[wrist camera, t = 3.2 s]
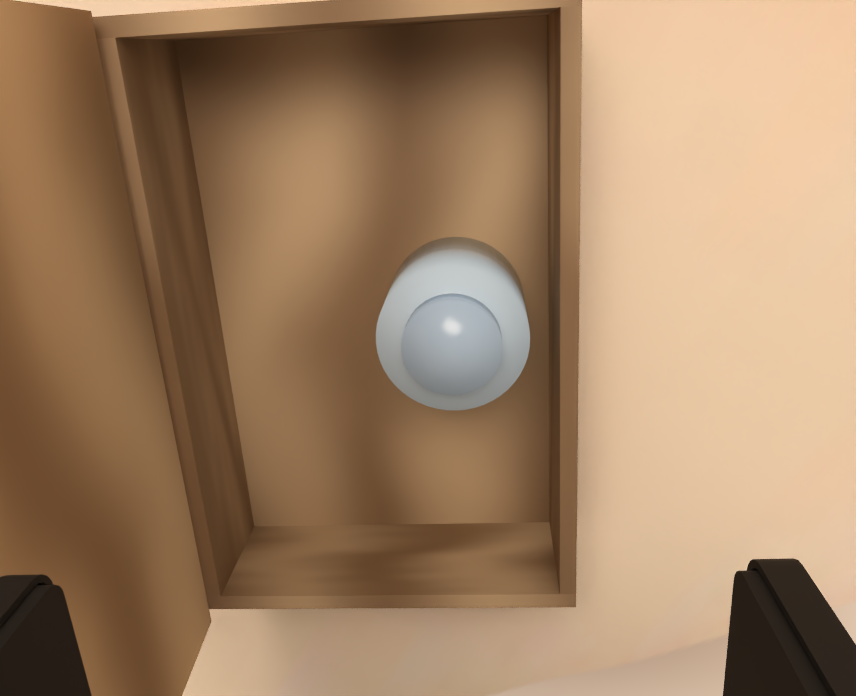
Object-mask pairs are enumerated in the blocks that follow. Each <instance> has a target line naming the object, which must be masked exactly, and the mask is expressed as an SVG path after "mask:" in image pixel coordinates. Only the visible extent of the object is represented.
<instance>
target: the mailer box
mask: <svg viewBox="0 0 856 696" xmlns="http://www.w3.org/2000/svg"><path fill="white" fill-rule="evenodd" d="M92 19H93V24H94V29H95V34H96V39H97V44H98V49H99V54H100V59H101V65H102V70H103V75H104V80H105V85H106V90H107V95H108V100H109V105H110V110H111V115H112V120H113V125H114V130H115V136H116V141H117V146H118V151H119V156H120V161H121V166H122V171H123V176H124V181H125V186H126V191H127V196H128V202H129V207H130V212H131V217H132V222H133V227H134V232H135V237H136V242H137V247H138V252H139V257H140V262H141V267H142V273H143V278H144V283H145V288H146V293H147V298H148V303H149V308H150V313H151V318H152V323H153V328H154V333H155V339H156V344H157V349H158V354H159V359H160V364H161V369H162V374H163V379H164V384H165V389H166V394H167V399H168V404H169V410H170V415H171V420H172V425H173V430H174V435H175V440H176V445H177V450H178V455H179V460H180V465H181V470H182V476H183V481H184V486H185V491H186V496H187V501H188V506H189V511H190V516H191V521H192V526H193V531H194V536H195V541H196V547H197V552H198V557H199V562H200V567H201V572H202V577H203V582H204V587H205V592H206V597H207V602H208V607H209V609H287V608H489V607H576V537H577V440H578V343H579V246H580V148H581V51H582V0H328V1H314V2H300V3H285V4H271V5H257V6H243V7H229V8H215V9H201V10H187V11H172V12H158V13H144V14H130V15H116V16H102V17H92ZM446 237H466V238H472V239H475V240H479V241H481V242H484V243H486V244H488V245H490V246H492V247H493V248H495V249H496V250H498V251H499V252H500V253H501V254H503V255H504V256H505V257H506V258H507V259H508V261H509V262H510V263H511V265H512V266H513V267H514V269H515V271H516V273H517V274H518V277H519V279H520V282H521V285H522V290H523V295H524V300H525V306H526V312H527V318H528V323H529V329H530V348H529V353H528V358H527V361H526V363H525V366H524V368H523V370H522V372H521V374H520V375H519V377H518V378H517V380H516V381H515V382H514V384H513V385H512V386H511V387H510V388H509V389H508V390H507V391H506V392H504V393H503V394H502V395H501V396H499V397H498V398H496V399H495V400H493V401H491V402H489V403H487V404H485V405H482V406H479V407H476V408H471V409H467V410H442V409H436V408H432V407H429V406H426V405H423V404H421V403H418V402H417V401H415V400H413V399H411V398H410V397H408V396H407V395H406V394H404V393H403V392H402V391H401V390H399V389H398V388H397V387H396V386H395V385H394V383H393V382H392V381H391V380H390V379H389V377H388V376H387V374H386V372H385V371H384V369H383V367H382V364H381V362H380V359H379V356H378V353H377V347H376V328H377V322H378V318H379V315H380V312H381V310H382V307H383V305H384V302H385V299H386V297H387V294H388V292H389V289H390V287H391V284H392V282H393V279H394V277H395V274H396V272H397V271H398V269H399V267H400V265H401V264H402V263H403V262H404V260H405V259H406V258H407V257H408V256H409V255H410V254H411V253H412V252H414V251H415V250H416V249H418V248H419V247H421V246H423V245H425V244H426V243H429V242H431V241H434V240H437V239H441V238H446Z"/></svg>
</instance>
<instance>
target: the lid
mask: <svg viewBox="0 0 856 696" xmlns="http://www.w3.org/2000/svg"><path fill="white" fill-rule="evenodd" d="M39 574H43V575H46V576H48V577H49V578H50V579H51V580H52V582H53V585H59V586H60V587H61V588H62V590H63V592H64V595H65V598H66V602H67V606H68V610H69V613H70V617H71V621H72V624H73V628H74V632H75V635H76V639H77V643H78V647H79V650H80V654H81V658H82V661H83V665H84V669H85V672H86V676H87V680H88V684H89V687H90V691H91V695H92V696H182V694H183V691H184V689H185V686H186V684H187V681H188V679H189V676H190V674H191V671H192V669H193V666H194V664H195V661H196V659H197V656H198V654H199V651H200V648H201V646H202V643H203V641H204V638H205V636H206V633H207V631H208V628H209V626H210V623H211V618H210V613H209V607H208V602H207V597H206V592H205V587H204V582H203V577H202V572H201V567H200V562H199V557H198V552H197V547H196V541H195V536H194V531H193V526H192V521H191V516H190V511H189V506H188V501H187V496H186V491H185V486H184V481H183V476H182V470H181V465H180V460H179V455H178V450H177V445H176V440H175V435H174V430H173V425H172V420H171V415H170V410H169V404H168V399H167V394H166V389H165V384H164V379H163V374H162V369H161V364H160V359H159V354H158V349H157V344H156V339H155V333H154V328H153V323H152V318H151V313H150V308H149V303H148V298H147V293H146V288H145V283H144V278H143V273H142V267H141V262H140V257H139V252H138V247H137V242H136V237H135V232H134V227H133V222H132V217H131V212H130V207H129V202H128V196H127V191H126V186H125V181H124V176H123V171H122V166H121V161H120V156H119V151H118V146H117V141H116V136H115V130H114V125H113V120H112V115H111V110H110V105H109V100H108V95H107V90H106V85H105V80H104V75H103V70H102V65H101V59H100V54H99V49H98V44H97V39H96V34H95V29H94V24H93V19H92V14H91V11H87V10H79V9H72V8H65V7H57V6H50V5H43V4H35V3H28V2H21V1H13V0H0V577H2V576H5V575H39Z"/></svg>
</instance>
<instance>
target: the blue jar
mask: <svg viewBox="0 0 856 696" xmlns="http://www.w3.org/2000/svg"><path fill="white" fill-rule="evenodd" d="M376 347H377V353H378V356H379V359H380V362H381V364H382V367H383V369H384V371H385V372H386V374H387V376H388V377H389V379H390V380H391V381H392V382H393V383H394V385H395V386H396V387H397V388H398V389H399V390H401V391H402V392H403V393H404V394H406V395H407V396H408V397H410V398H411V399H413V400H415V401H417V402H418V403H421V404H423V405H426V406H429V407H432V408H436V409H442V410H467V409H471V408H476V407H479V406H482V405H485V404H487V403H489V402H491V401H493V400H495V399H496V398H498V397H499V396H501V395H502V394H503V393H504V392H506V391H507V390H508V389H509V388H510V387H511V386H512V385H513V384H514V382H515V381H516V380H517V378H518V377H519V375H520V374H521V372H522V370H523V368H524V366H525V363H526V361H527V358H528V353H529V348H530V329H529V323H528V318H527V312H526V306H525V300H524V295H523V290H522V285H521V282H520V279H519V277H518V274H517V273H516V271H515V269H514V267H513V266H512V265H511V263H510V262H509V261H508V259H507V258H506V257H505V256H504V255H503V254H501V253H500V252H499V251H498V250H496V249H495V248H493V247H492V246H490V245H488V244H486V243H484V242H481V241H479V240H475V239H472V238H466V237H446V238H441V239H437V240H434V241H431V242H429V243H426V244H425V245H423V246H421V247H419V248H418V249H416V250H415V251H414V252H412V253H411V254H410V255H409V256H408V257H407V258H406V259H405V260H404V262H403V263H402V264H401V265H400V267H399V269H398V271H397V272H396V274H395V277H394V279H393V282H392V284H391V287H390V289H389V292H388V294H387V297H386V299H385V302H384V305H383V307H382V310H381V312H380V315H379V318H378V322H377V328H376Z"/></svg>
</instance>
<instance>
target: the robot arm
mask: <svg viewBox="0 0 856 696" xmlns="http://www.w3.org/2000/svg"><path fill="white" fill-rule="evenodd" d="M0 696H92V695H91V691H90V687H89V684H88V680H87V676H86V672H85V669H84V665H83V661H82V658H81V654H80V650H79V647H78V643H77V639H76V635H75V632H74V628H73V624H72V621H71V617H70V613H69V610H68V606H67V602H66V598H65V595H64V592H63V590H62V588H61V587H60V586H59V585H53V582H52V580H51V579H50V578H49V577H48V576H46V575H43V574H39V575H5V576H2V577H0ZM723 696H856V645H855V643H854V642H853V640H852V638H851V637H850V636H849V634H848V632H847V631H846V630H845V628H844V627H843V625H842V624H841V622H840V621H839V619H838V618H837V616H836V615H835V613H834V612H833V610H832V609H831V607H830V606H829V604H828V603H827V601H826V600H825V598H824V597H823V595H822V594H821V592H820V591H819V589H818V588H817V586H816V585H815V583H814V582H813V580H812V579H811V577H810V576H809V574H808V573H807V571H806V570H805V568H804V567H803V565H802V564H801V563H800V562H799V561H798V560H796V559H753V560H751V561H750V563H749V565H748V568H747V571H737V572H736V574H735V577H734V584H733V595H732V606H731V616H730V627H729V637H728V649H727V659H726V669H725V681H724V691H723Z"/></svg>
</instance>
